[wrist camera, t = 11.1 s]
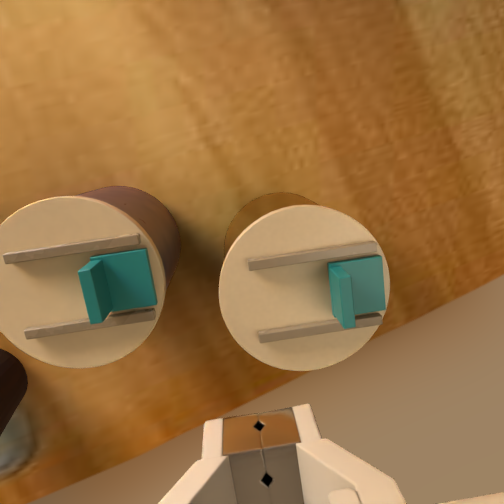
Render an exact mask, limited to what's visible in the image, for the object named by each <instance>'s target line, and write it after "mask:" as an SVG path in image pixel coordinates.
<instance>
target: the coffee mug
mask: <svg viewBox="0 0 504 504" xmlns="http://www.w3.org/2000/svg"><path fill="white" fill-rule="evenodd" d="M27 384H28V381H27V375H26V371H25V369H24V367H23V365H22V364H21V363H20V362H19V360H18V359H17V358H16V357H14V356H13V355H12V354H10V353H8V352H7V351H4V350H2V349H0V435H1V434H2V432H3V430H4V429H5V427H6V425H7V424H8V422H9V420H10V418H11V417H12V415H13V413H14V412H15V410H16V408H17V407H18V405H19V403H20V401H21V400H22V398H23V396H24V395H25V392H26V390H27Z"/></svg>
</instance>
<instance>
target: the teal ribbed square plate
mask: <svg viewBox="0 0 504 504" xmlns="http://www.w3.org/2000/svg"><path fill="white" fill-rule="evenodd" d="M78 275H79V280H80V284H81V288H82V292H83V296H84V300H85V305H86V309H87V313H88V317H89V321H90V324H97V323H102V322H103V321H104V320H105V319H106V317H107V316H108V315H109V313H110V312H115V311H121V310H128V309H134V308H141V307H147V306H154V305H157V303H158V300H157V295H156V290H155V285H154V280H153V275H152V270H151V265H150V260H149V255H148V250H147V248H141V249H134V250H127V251H120V252H114V253H107V254H100V255H94V256H91V257H90V262H89V263H88V264H86V265H85V266H84V267H83V268H81V269H80V270H79V271H78Z"/></svg>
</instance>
